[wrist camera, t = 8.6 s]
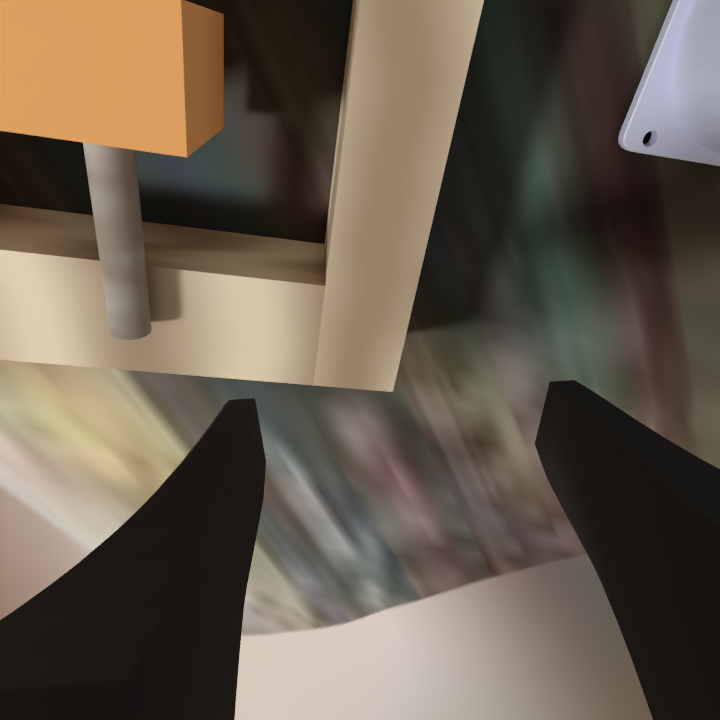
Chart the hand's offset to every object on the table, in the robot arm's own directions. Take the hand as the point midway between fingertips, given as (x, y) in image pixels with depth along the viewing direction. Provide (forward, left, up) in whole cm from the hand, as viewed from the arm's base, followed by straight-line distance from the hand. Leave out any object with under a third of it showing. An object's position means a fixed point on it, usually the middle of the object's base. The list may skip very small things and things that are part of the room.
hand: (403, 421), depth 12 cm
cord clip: (+8, -6, -8) cm, 13 cm away
